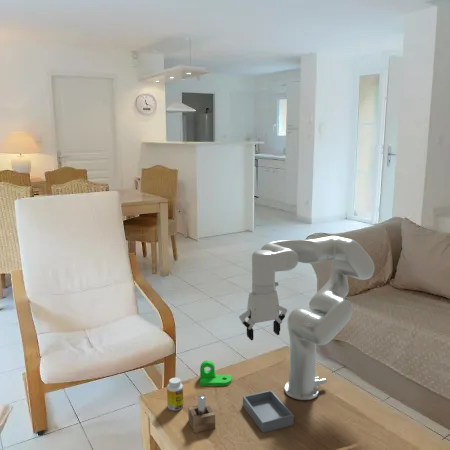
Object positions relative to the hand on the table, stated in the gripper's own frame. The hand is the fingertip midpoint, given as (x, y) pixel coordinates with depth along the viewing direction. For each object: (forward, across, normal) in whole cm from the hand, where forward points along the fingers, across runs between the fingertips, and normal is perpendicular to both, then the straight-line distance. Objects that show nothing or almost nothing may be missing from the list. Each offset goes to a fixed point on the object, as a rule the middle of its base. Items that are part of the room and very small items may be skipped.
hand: (263, 336), depth 155 cm
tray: (+28, 0, +3) cm, 28 cm away
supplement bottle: (+27, +28, -13) cm, 41 cm away
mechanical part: (+28, +10, -23) cm, 37 cm away
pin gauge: (+27, +23, 0) cm, 35 cm away
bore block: (+27, +23, 0) cm, 35 cm away
